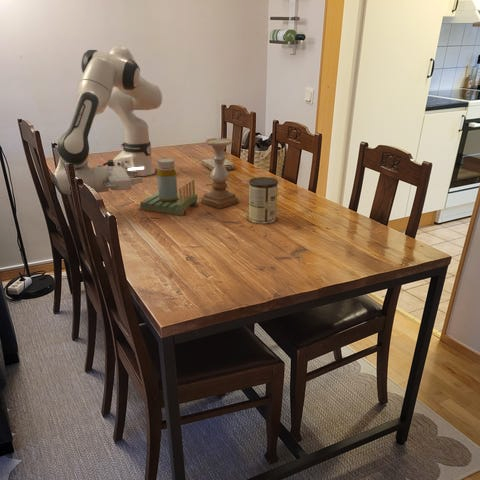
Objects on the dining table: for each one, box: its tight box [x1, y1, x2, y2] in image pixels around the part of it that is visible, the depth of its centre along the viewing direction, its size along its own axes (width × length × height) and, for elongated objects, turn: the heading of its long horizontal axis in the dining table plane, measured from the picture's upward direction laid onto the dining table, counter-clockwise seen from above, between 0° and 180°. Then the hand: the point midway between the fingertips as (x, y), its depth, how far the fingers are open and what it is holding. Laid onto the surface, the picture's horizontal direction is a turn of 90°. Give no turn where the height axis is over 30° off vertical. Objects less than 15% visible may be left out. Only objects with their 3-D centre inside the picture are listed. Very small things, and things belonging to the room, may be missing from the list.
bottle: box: [156, 157, 178, 202], centre depth 182 cm, size 7×7×15 cm
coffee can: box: [248, 176, 279, 225], centre depth 174 cm, size 10×10×14 cm
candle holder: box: [200, 137, 239, 209], centre depth 188 cm, size 11×11×24 cm
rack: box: [139, 179, 198, 216], centre depth 185 cm, size 18×14×10 cm
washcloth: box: [200, 158, 235, 171], centre depth 242 cm, size 12×18×3 cm, turn 26°
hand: (140, 176), depth 178 cm, fingers open, 8 cm apart
